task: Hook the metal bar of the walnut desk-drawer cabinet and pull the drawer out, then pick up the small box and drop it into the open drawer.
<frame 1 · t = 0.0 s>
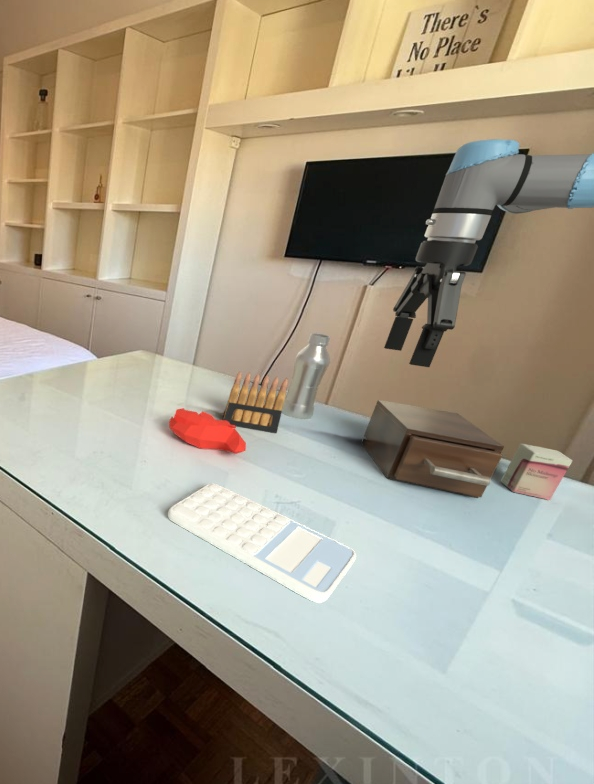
hand: (404, 357, 87), 19 cm above the table, tool pointing down, fingers open, 13 cm apart
ammunition clip: (248, 427, 98), on the table
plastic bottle: (293, 421, 104), on the table
cabinet: (413, 467, 85), on the table
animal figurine: (208, 444, 89), on the table
small box: (523, 491, 80), on the table
drawer: (434, 454, 80), point 5 cm above the table, slide at 0.5 cm
calculator: (255, 539, 62), on the table
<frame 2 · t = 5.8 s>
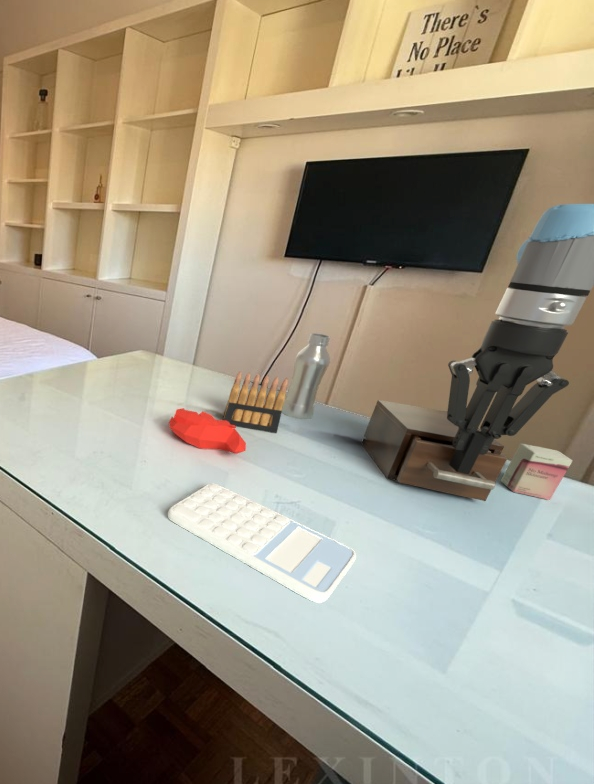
hand: (458, 469, 72), 6 cm above the table, tool pointing down, fingers closed
drawer: (437, 458, 79), point 5 cm above the table, slide at 1.8 cm, touching gripper
everything else where it was.
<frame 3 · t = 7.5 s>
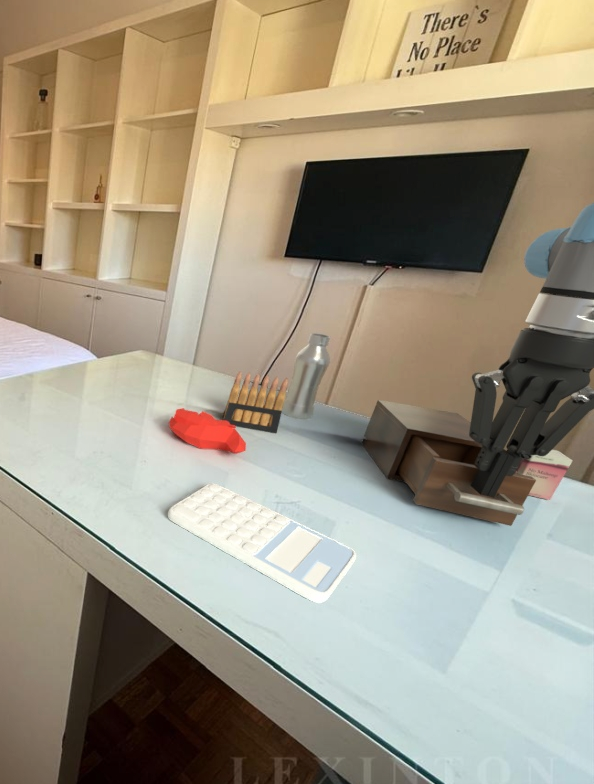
hand: (481, 491, 66), 6 cm above the table, tool pointing down, fingers closed
drawer: (457, 477, 72), point 5 cm above the table, slide at 9.0 cm, touching gripper
everything else where it was.
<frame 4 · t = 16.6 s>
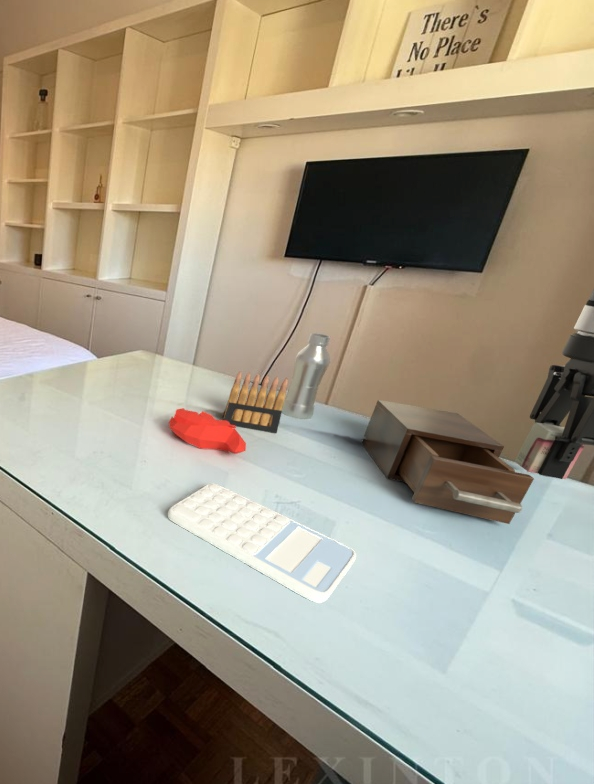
hand: (540, 469, 78), 5 cm above the table, tool pointing down, fingers closed on small box, 4 cm apart
small box: (538, 471, 78), point 4 cm above the table, touching gripper
drawer: (455, 475, 73), point 5 cm above the table, slide at 8.5 cm
everything else where it was.
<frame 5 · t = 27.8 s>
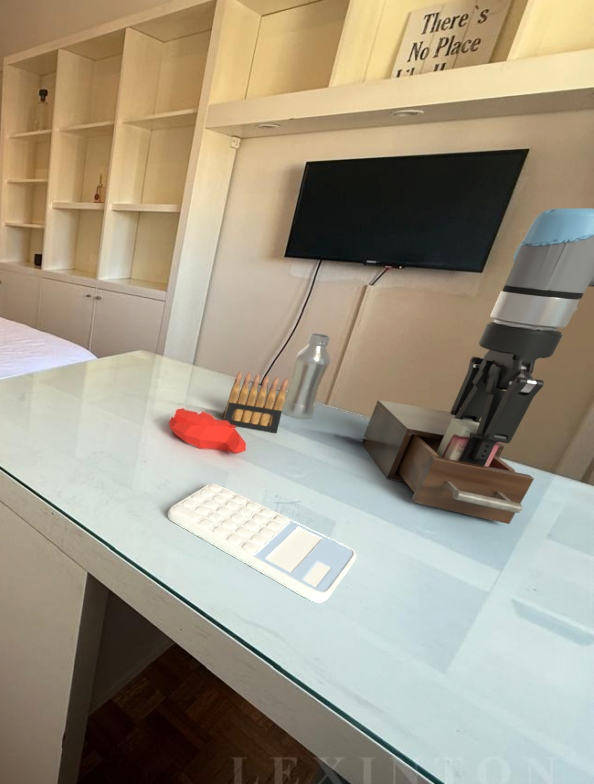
hand: (457, 468, 73), 6 cm above the table, tool pointing down, fingers closed on small box, 4 cm apart
small box: (456, 471, 73), point 5 cm above the table, touching gripper
everything else where it was.
when the fingers open (9 cm above the table, at t = 31.6 s): small box drops 7 cm, resting on drawer.
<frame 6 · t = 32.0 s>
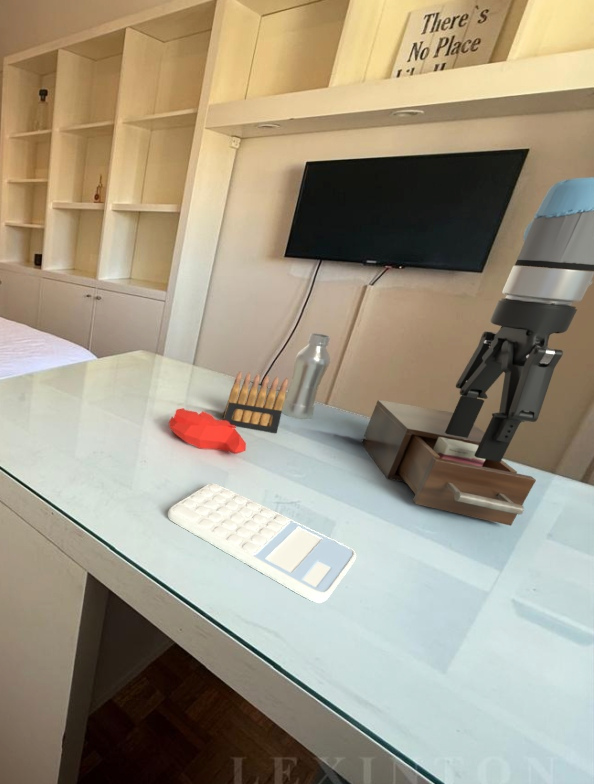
hand: (470, 446, 71), 10 cm above the table, tool pointing down, fingers open, 9 cm apart
small box: (442, 489, 74), point 2 cm above the table, touching drawer
drawer: (457, 477, 72), point 5 cm above the table, slide at 9.0 cm, touching small box
everything else where it was.
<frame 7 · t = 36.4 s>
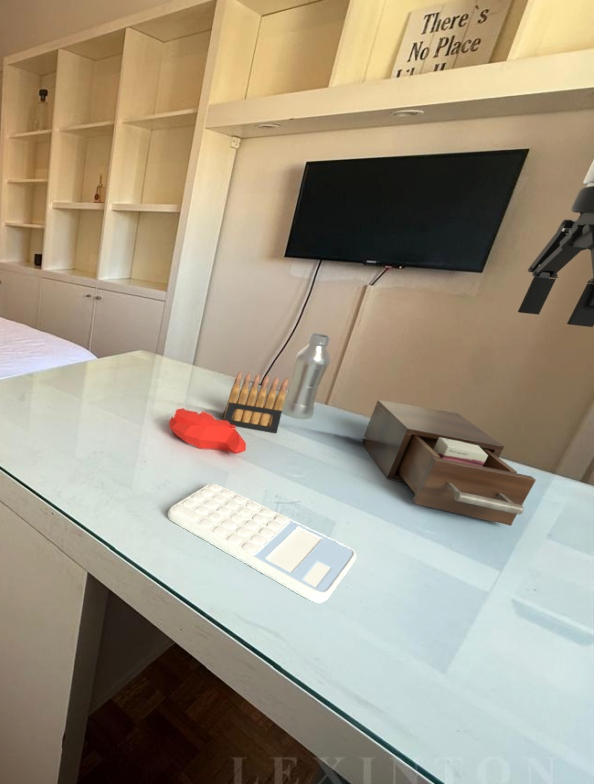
hand: (551, 319, 79), 29 cm above the table, tool pointing down, fingers open, 13 cm apart
nothing on the table moved.
at the end: drawer slide at 8.9 cm; small box inside the target area in the drawer (0.7 cm from its centre), point 1.9 cm above the cabinet's base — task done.
